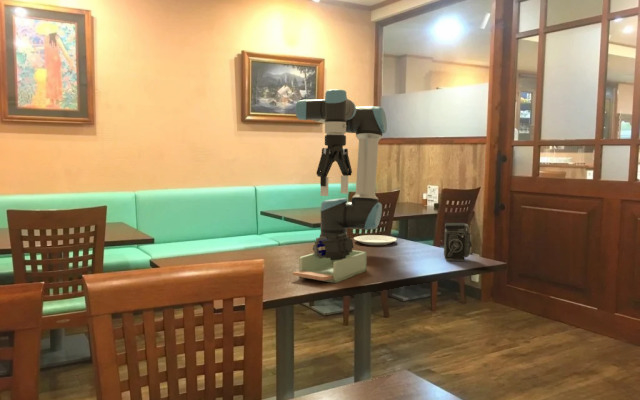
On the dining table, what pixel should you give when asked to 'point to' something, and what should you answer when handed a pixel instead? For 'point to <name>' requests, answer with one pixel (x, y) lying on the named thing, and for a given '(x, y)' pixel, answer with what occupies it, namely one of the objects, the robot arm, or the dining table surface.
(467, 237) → the camera
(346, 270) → the tray
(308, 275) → the panel
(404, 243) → the dining table surface
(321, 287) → the dining table surface
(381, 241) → the plate
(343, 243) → the toy
